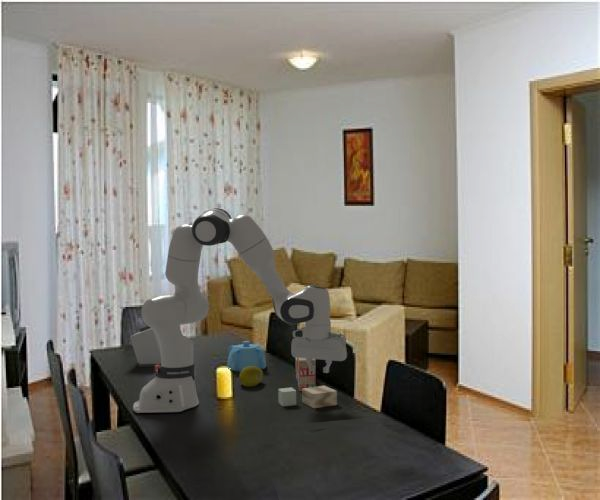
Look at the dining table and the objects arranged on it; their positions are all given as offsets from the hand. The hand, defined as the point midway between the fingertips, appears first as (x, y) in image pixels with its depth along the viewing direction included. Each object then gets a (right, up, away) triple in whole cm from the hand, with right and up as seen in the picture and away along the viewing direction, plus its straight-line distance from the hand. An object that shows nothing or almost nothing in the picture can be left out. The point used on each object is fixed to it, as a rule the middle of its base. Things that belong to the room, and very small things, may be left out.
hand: (319, 371), depth 213 cm
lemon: (-25, -11, +26) cm, 38 cm away
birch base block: (0, -11, +1) cm, 11 cm away
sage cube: (-11, -11, +1) cm, 16 cm away
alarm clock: (-72, -11, +64) cm, 97 cm away
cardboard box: (-5, -11, +27) cm, 29 cm away
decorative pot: (-29, -11, +51) cm, 60 cm away
